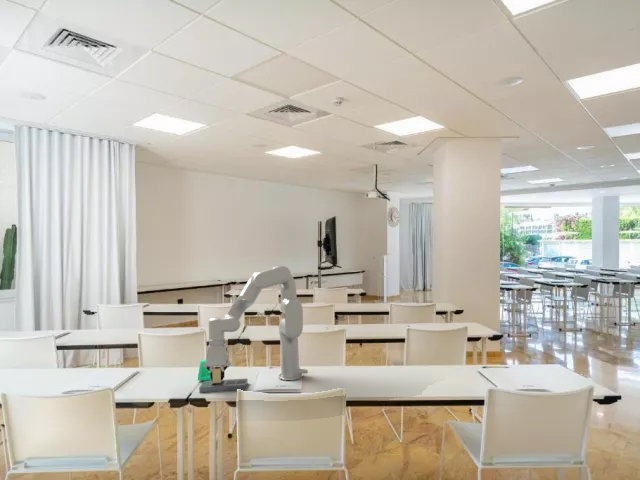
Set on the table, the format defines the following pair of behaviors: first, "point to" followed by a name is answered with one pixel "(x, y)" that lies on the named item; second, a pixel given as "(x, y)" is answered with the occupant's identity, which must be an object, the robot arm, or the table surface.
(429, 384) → the table surface
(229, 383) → the grey compartment tray
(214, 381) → the nut block
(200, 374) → the camera mount
